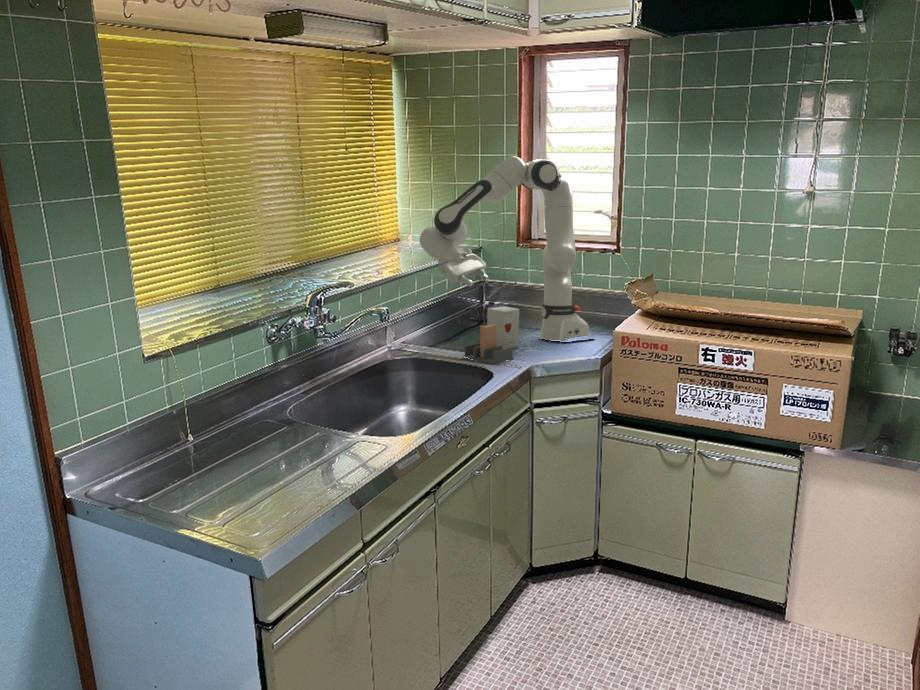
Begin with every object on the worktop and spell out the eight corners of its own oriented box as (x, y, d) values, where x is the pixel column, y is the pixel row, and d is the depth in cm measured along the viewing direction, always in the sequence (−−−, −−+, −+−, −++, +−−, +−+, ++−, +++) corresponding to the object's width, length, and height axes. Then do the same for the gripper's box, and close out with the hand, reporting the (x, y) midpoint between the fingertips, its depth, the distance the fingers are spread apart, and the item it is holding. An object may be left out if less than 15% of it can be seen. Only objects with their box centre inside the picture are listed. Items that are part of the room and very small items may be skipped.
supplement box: (502, 350, 278) (503, 311, 275) (486, 346, 285) (486, 308, 281) (519, 347, 284) (520, 308, 281) (503, 343, 290) (503, 305, 287)
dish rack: (483, 353, 273) (483, 341, 272) (513, 359, 263) (513, 347, 262) (463, 358, 265) (463, 346, 264) (493, 364, 255) (493, 352, 254)
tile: (491, 354, 267) (491, 324, 265) (496, 355, 265) (496, 325, 263) (480, 357, 263) (480, 326, 260) (485, 358, 261) (485, 327, 259)
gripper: (438, 258, 266) (465, 281, 261) (472, 248, 281) (498, 269, 277) (432, 272, 270) (459, 294, 265) (466, 261, 285) (491, 282, 280)
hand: (479, 281), depth 271 cm, fingers open, 8 cm apart
